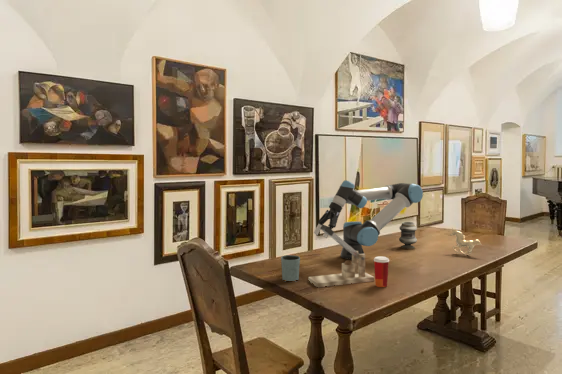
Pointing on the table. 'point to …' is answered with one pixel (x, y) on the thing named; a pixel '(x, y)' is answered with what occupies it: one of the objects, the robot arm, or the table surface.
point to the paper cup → (381, 271)
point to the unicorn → (464, 242)
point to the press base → (342, 279)
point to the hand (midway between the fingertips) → (319, 235)
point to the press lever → (339, 240)
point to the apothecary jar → (408, 235)
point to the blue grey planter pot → (290, 267)
